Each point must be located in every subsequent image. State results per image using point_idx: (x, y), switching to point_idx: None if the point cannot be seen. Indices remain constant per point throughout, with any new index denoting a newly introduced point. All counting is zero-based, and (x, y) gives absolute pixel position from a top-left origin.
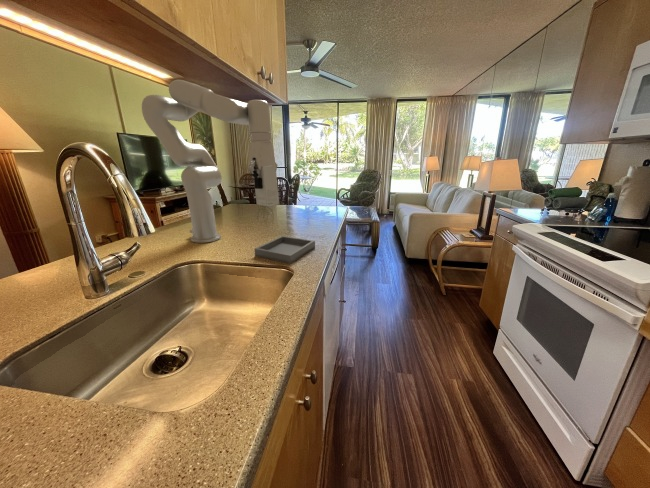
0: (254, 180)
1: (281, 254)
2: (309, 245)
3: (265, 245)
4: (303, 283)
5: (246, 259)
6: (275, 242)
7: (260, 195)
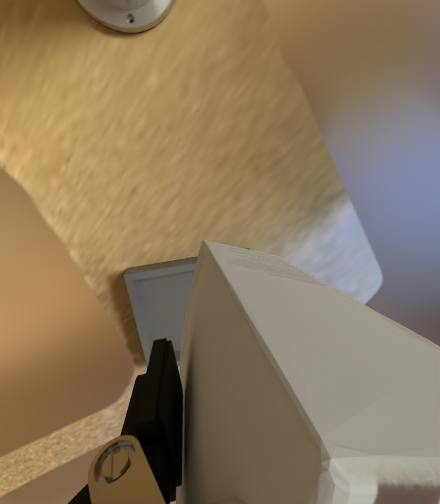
0: (143, 395)
1: (143, 350)
2: None
3: (164, 274)
4: (101, 426)
5: (100, 266)
6: None
7: (189, 319)
